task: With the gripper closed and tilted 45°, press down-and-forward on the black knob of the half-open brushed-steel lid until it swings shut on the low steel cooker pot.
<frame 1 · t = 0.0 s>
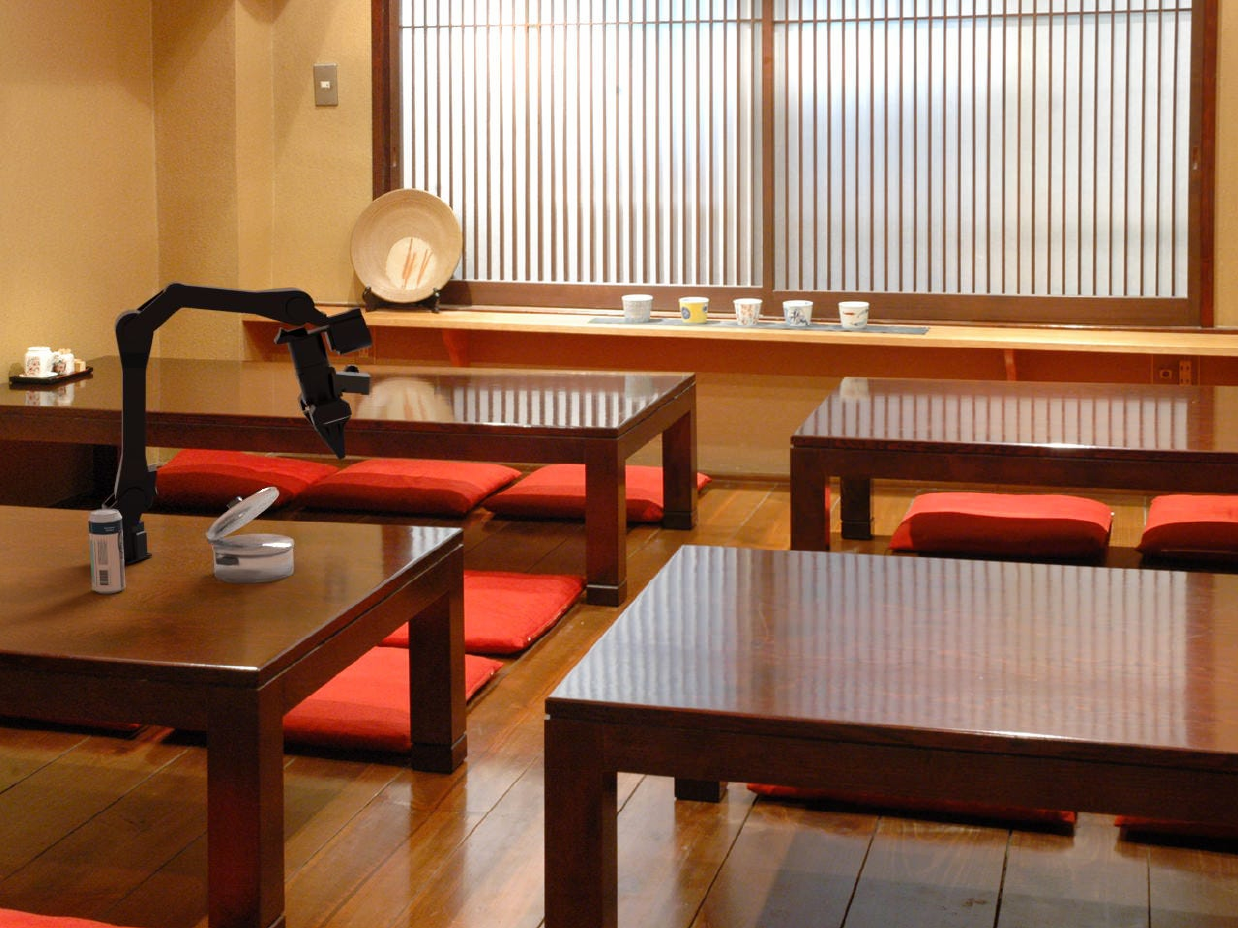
hand: (337, 453, 263), 15 cm above the table, tool pointing down, fingers open, 9 cm apart
cooker lid: (237, 510, 246), point 10 cm above the table, hinge at 40.0°
beer can: (109, 591, 237), on the table
cooker pot: (254, 572, 247), on the table
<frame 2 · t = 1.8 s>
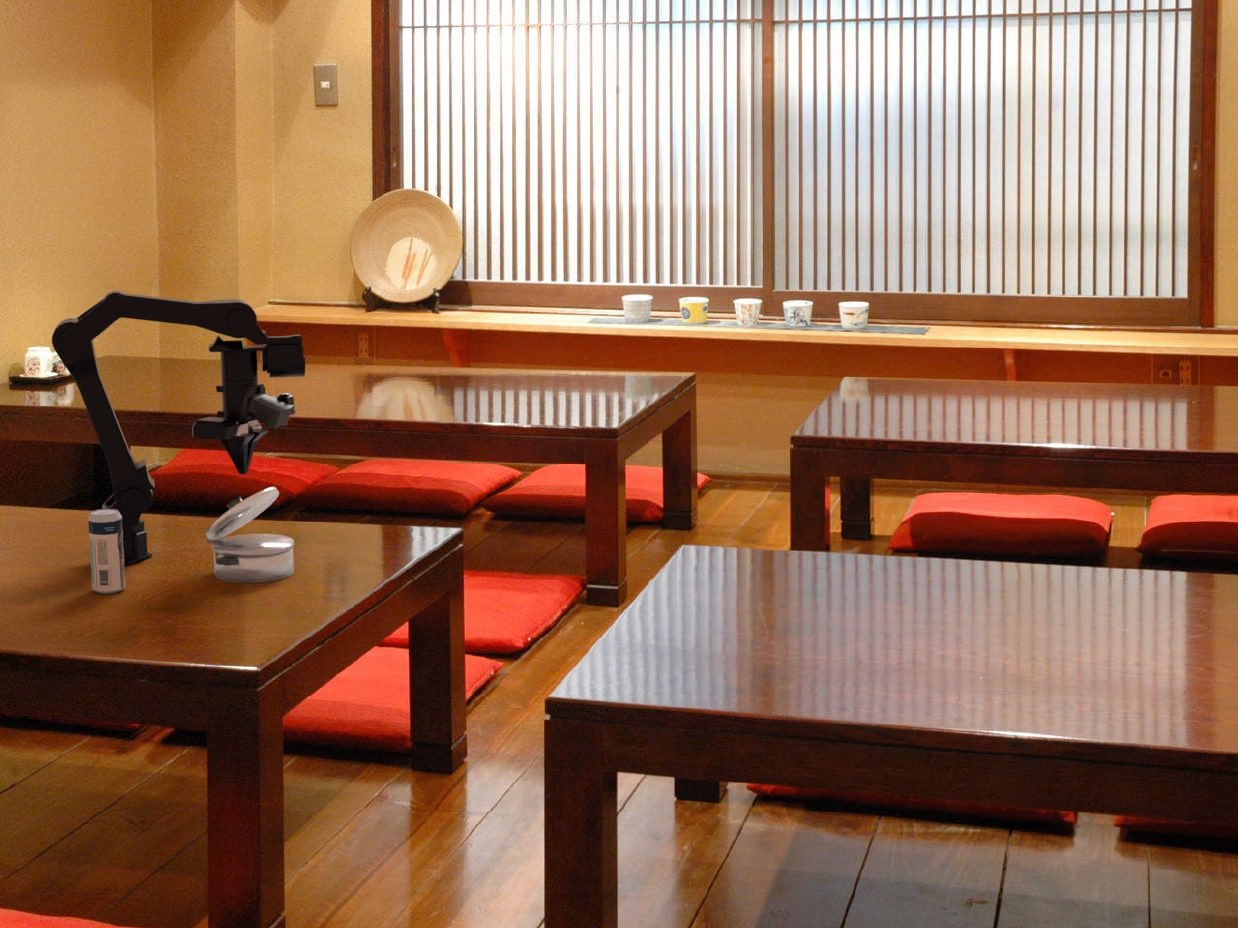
hand: (243, 474, 258), 13 cm above the table, tool pointing down, fingers closed
nothing on the table moved.
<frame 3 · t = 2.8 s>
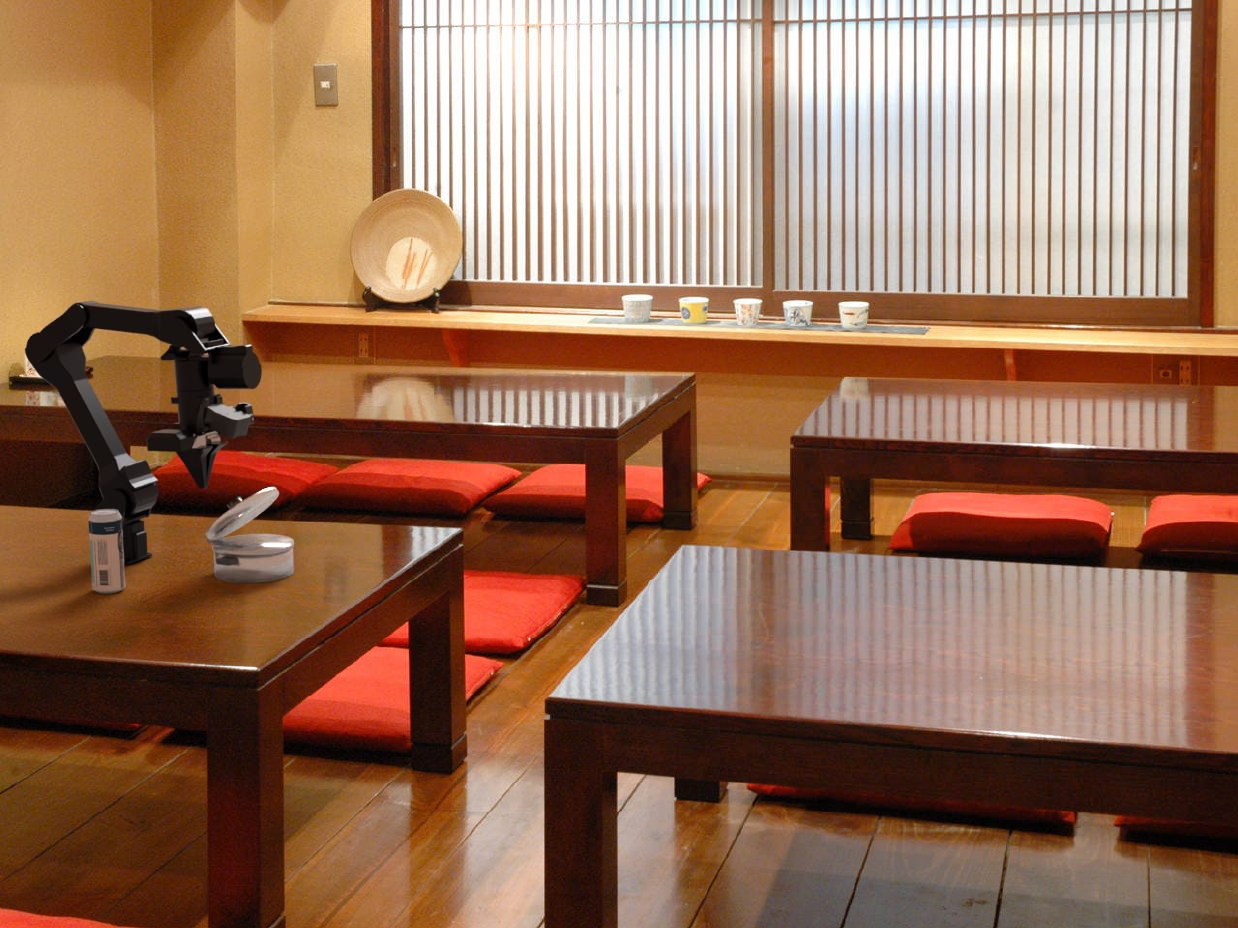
hand: (203, 488, 248), 13 cm above the table, tool pointing down, fingers closed
nothing on the table moved.
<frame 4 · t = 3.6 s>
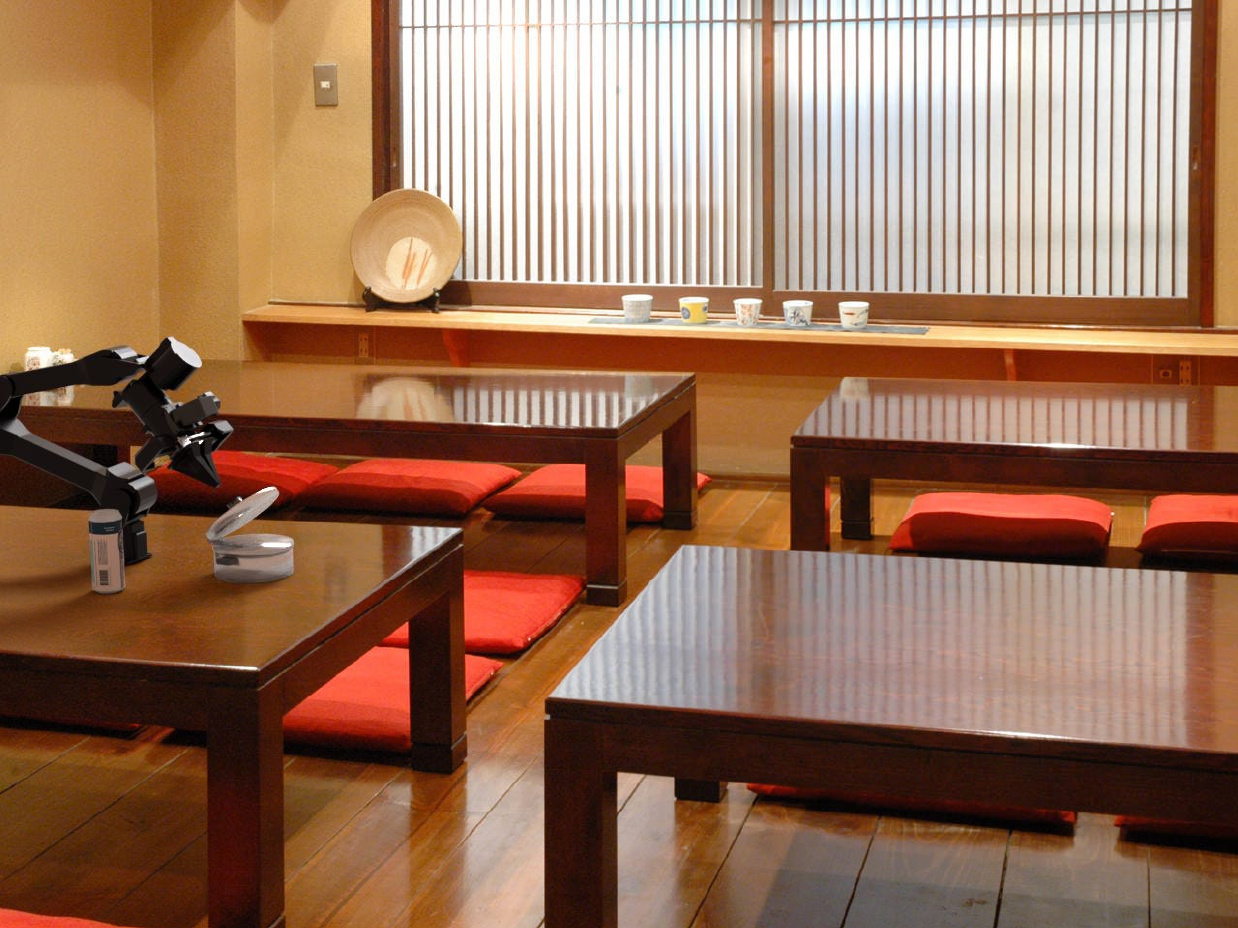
hand: (218, 486, 247), 13 cm above the table, tool tilted 45°, fingers closed
nothing on the table moved.
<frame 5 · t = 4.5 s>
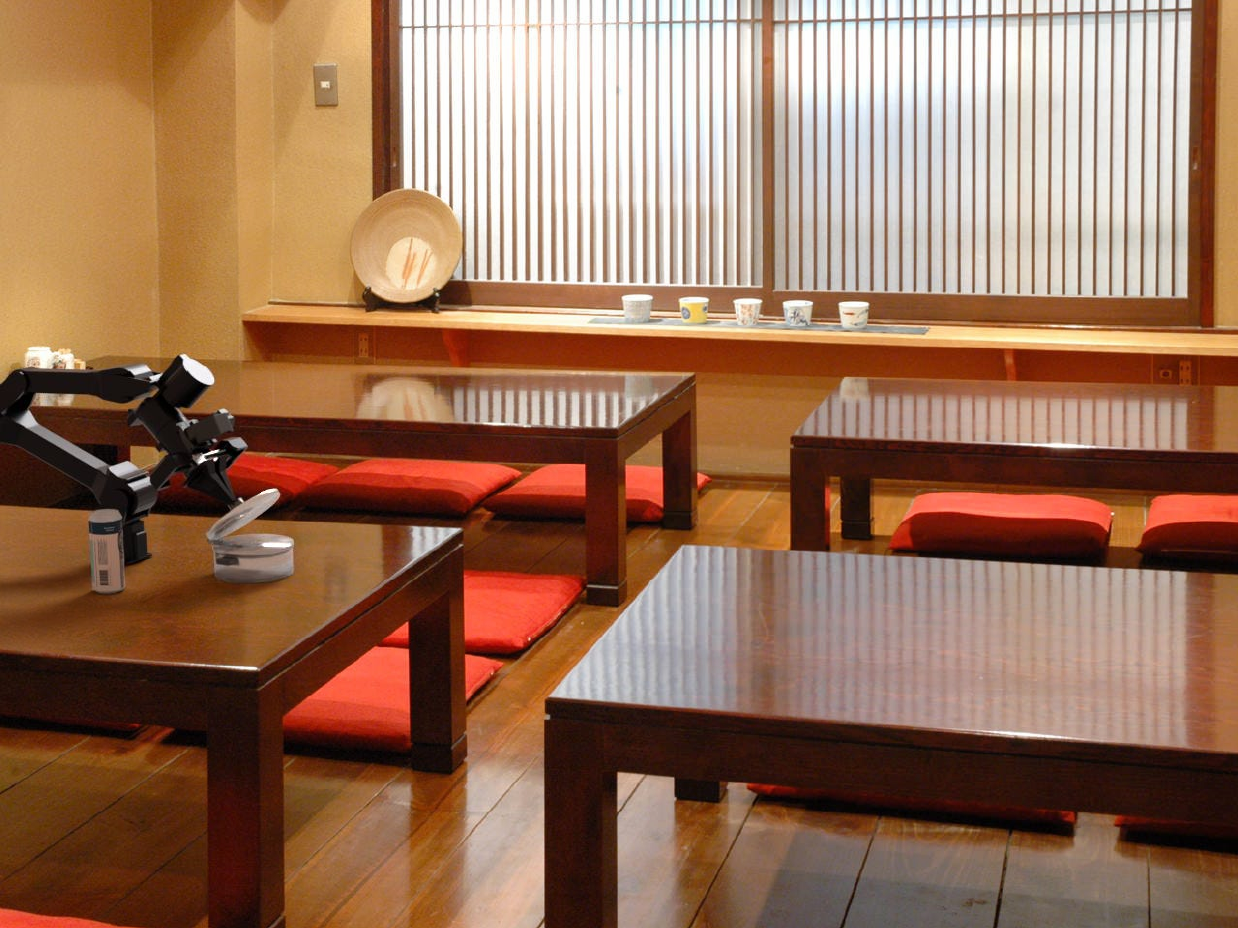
hand: (233, 503, 246), 11 cm above the table, tool tilted 45°, fingers closed, pressing on cooker lid
cooker lid: (237, 511, 246), point 10 cm above the table, hinge at 38.3°, touching gripper
everything else where it was.
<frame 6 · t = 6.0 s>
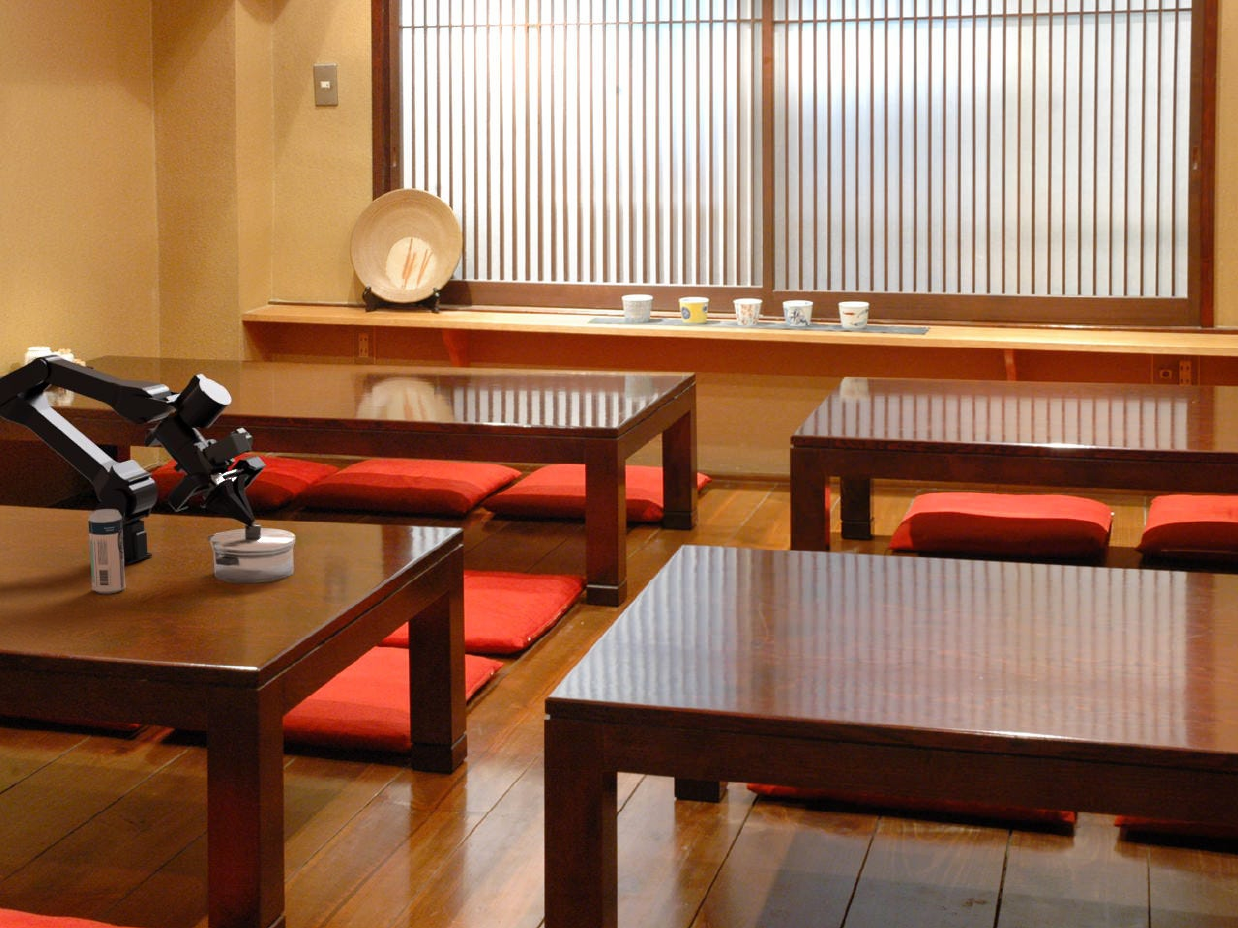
hand: (252, 523, 246), 8 cm above the table, tool tilted 45°, fingers closed, pressing on cooker lid
cooker lid: (250, 533, 246), point 6 cm above the table, hinge at -0.5°, touching cooker pot, gripper
everything else where it was.
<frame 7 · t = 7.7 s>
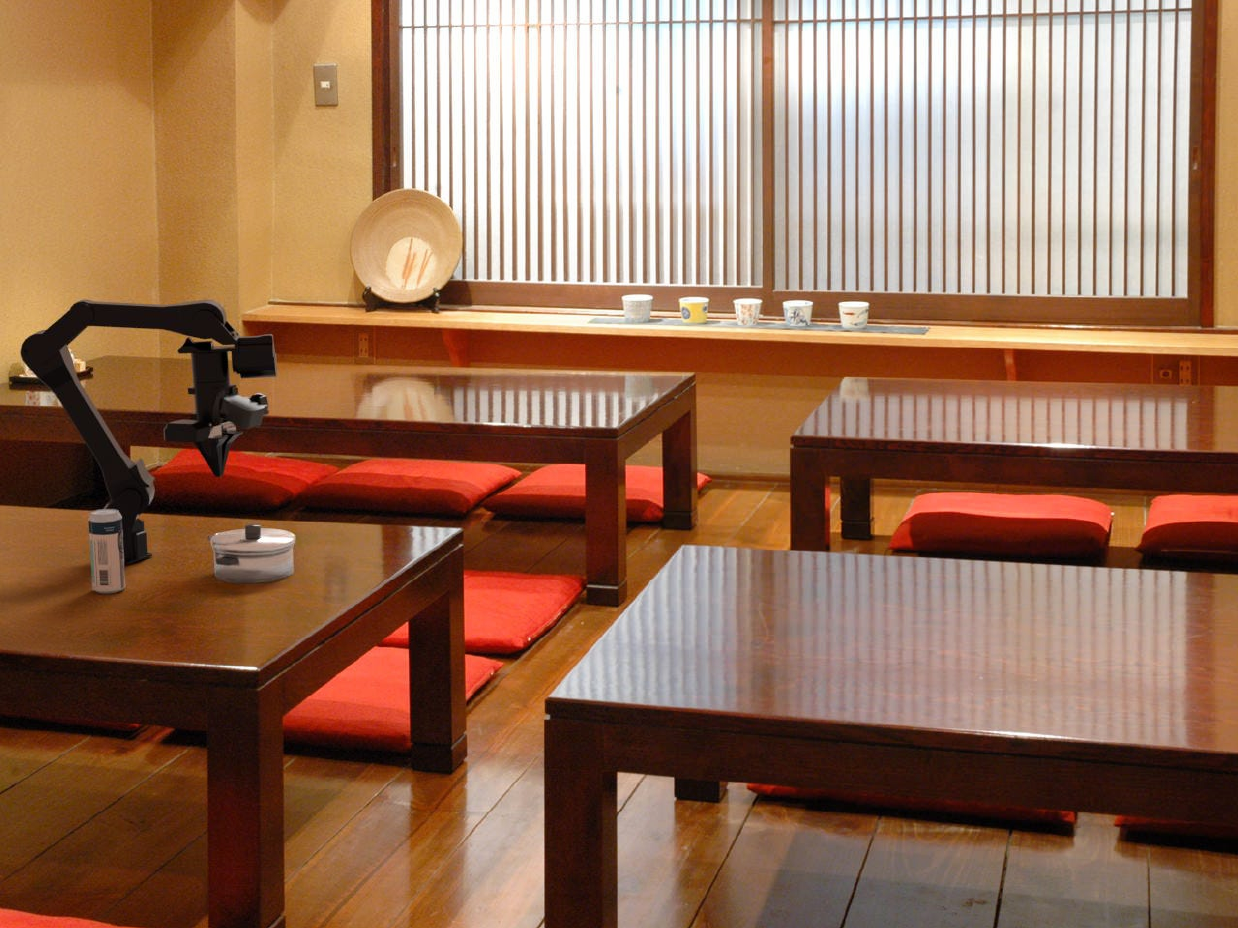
hand: (218, 476, 255), 13 cm above the table, tool pointing down, fingers closed
cooker lid: (250, 533, 246), point 6 cm above the table, hinge at -0.4°
everything else where it was.
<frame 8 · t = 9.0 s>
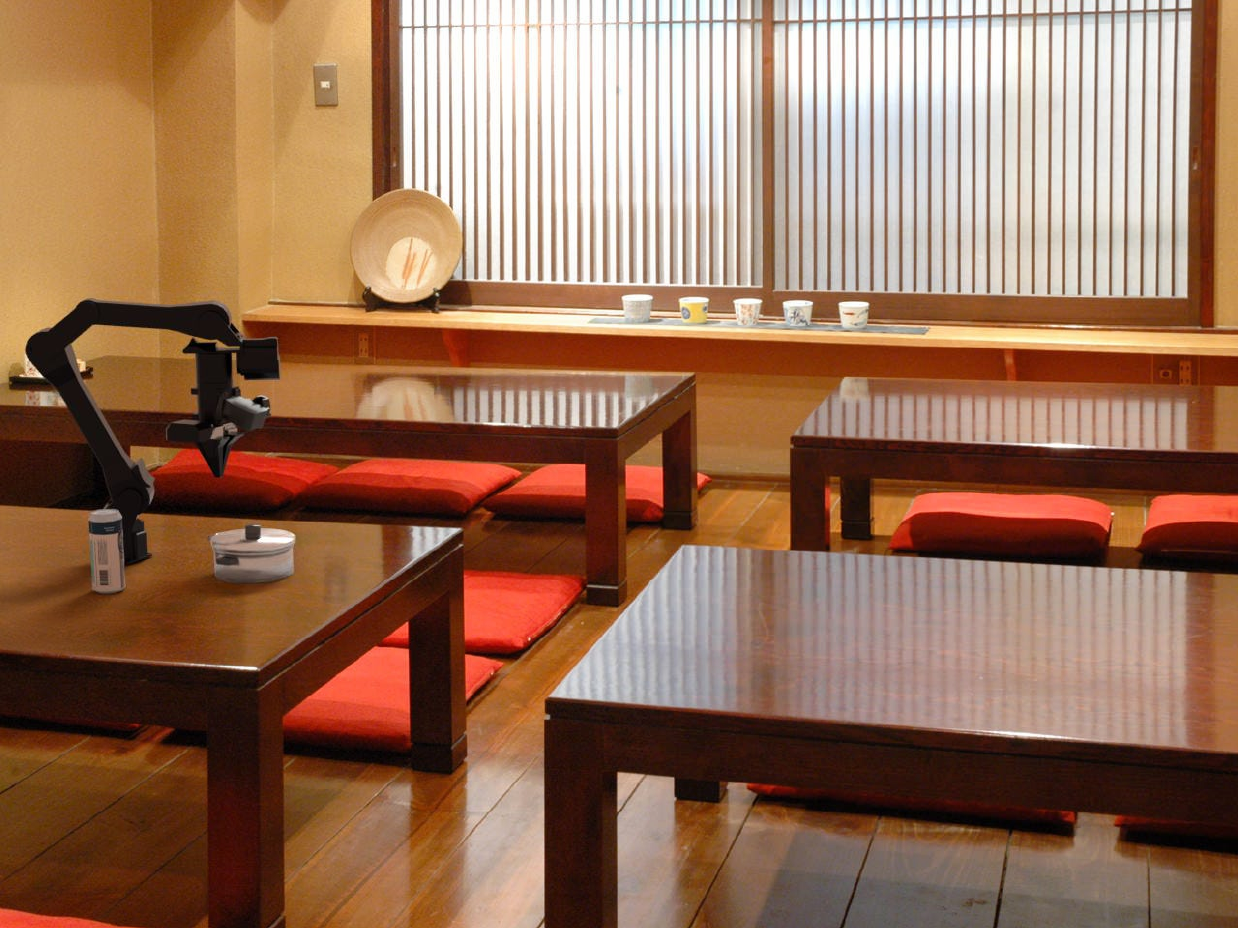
hand: (218, 477, 255), 13 cm above the table, tool pointing down, fingers closed
nothing on the table moved.
at the end: cooker lid at +0° (first picture: +40°); beer can moved 0.2 cm from its start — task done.
